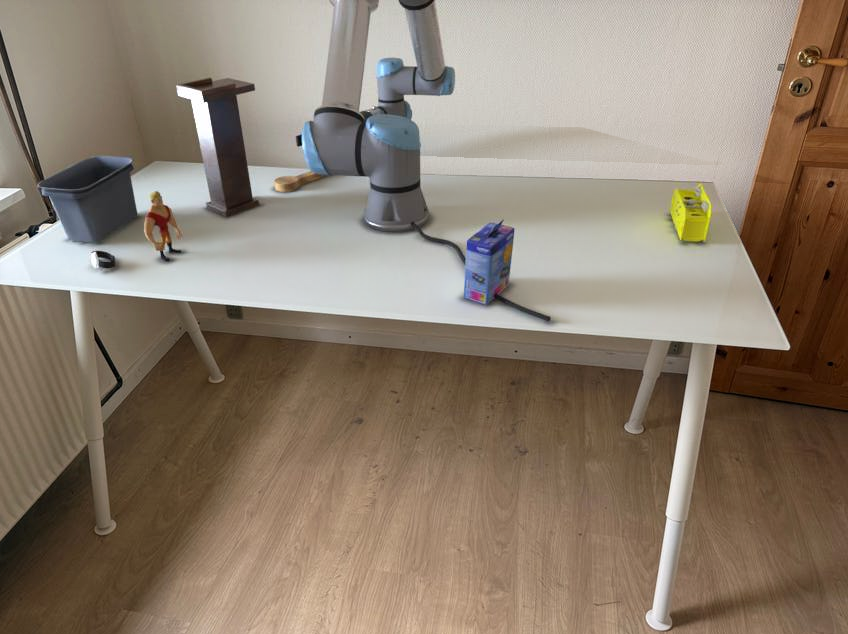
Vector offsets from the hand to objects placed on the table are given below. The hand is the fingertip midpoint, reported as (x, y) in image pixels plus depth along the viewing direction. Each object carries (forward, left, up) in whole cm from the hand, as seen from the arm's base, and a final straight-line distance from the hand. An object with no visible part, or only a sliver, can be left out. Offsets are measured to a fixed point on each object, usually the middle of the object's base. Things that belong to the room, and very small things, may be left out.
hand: (304, 143), depth 182 cm
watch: (-17, +61, -10) cm, 64 cm away
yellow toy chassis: (-84, -48, -10) cm, 98 cm away
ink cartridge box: (-78, +5, -10) cm, 79 cm away
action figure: (-22, +48, -10) cm, 53 cm away
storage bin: (+4, +56, -10) cm, 57 cm away
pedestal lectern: (-4, +24, -10) cm, 26 cm away
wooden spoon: (0, 0, -10) cm, 10 cm away
